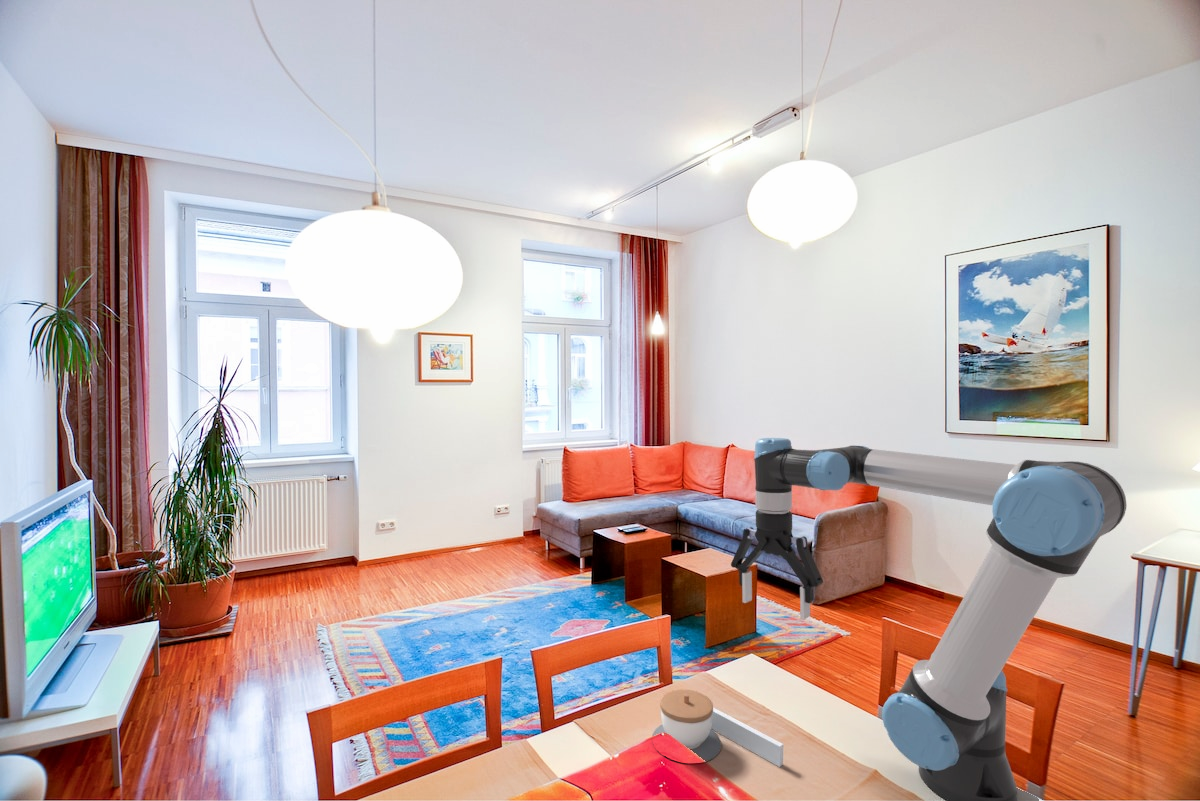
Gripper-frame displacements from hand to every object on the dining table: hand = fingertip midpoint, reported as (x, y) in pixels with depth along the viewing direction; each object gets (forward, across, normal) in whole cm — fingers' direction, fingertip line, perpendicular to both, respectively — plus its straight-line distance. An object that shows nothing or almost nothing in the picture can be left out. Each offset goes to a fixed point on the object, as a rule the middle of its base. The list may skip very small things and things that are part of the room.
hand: (775, 609), depth 122 cm
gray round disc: (+25, +10, +18) cm, 33 cm away
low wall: (+25, +4, +10) cm, 28 cm away
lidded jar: (+25, +10, +18) cm, 33 cm away
